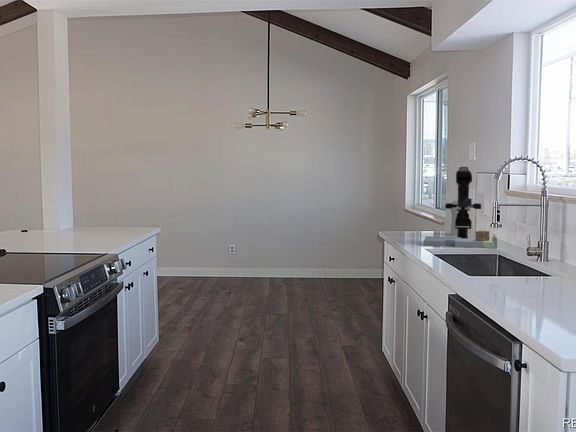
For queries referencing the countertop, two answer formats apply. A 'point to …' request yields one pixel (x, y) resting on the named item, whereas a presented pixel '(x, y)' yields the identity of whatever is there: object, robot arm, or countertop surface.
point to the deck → (460, 242)
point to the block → (482, 236)
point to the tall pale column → (454, 215)
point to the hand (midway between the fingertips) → (462, 221)
